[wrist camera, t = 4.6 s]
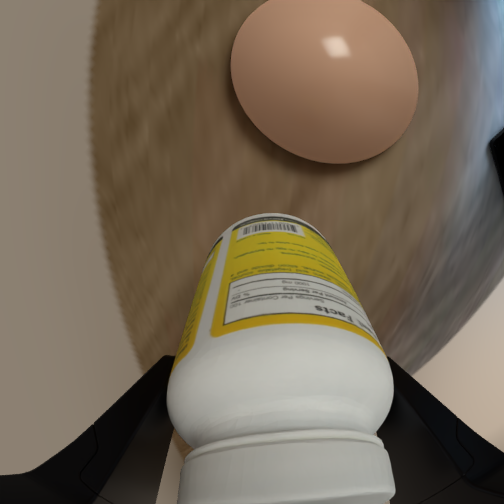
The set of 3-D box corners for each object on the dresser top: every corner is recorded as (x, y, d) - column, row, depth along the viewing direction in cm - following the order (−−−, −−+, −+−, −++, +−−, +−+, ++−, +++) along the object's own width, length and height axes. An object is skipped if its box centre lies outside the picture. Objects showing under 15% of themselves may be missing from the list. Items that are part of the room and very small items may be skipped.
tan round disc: (439, 107, 13) (445, 107, 12) (311, 197, 16) (313, 201, 16) (337, -27, 10) (340, -32, 9) (192, 56, 13) (189, 53, 12)
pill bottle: (259, 336, 16) (257, 534, 6) (182, 259, 14) (87, 486, 4) (354, 279, 14) (442, 485, 4) (286, 181, 12) (389, 449, 2)
